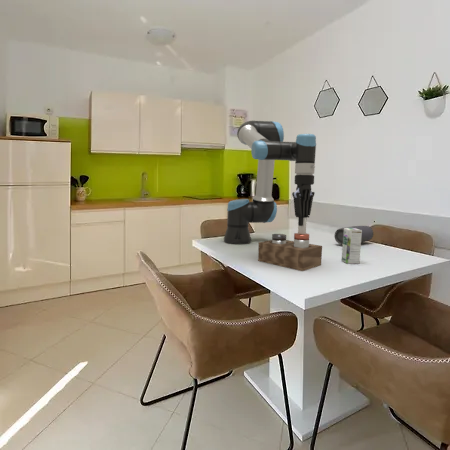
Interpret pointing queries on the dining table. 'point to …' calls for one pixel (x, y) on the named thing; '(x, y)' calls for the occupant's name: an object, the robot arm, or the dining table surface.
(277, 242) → the grey lid glass jar
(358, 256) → the syrup box
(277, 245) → the wooden jar holder
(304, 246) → the red lid glass jar
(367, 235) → the bluetooth speaker
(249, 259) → the dining table surface
